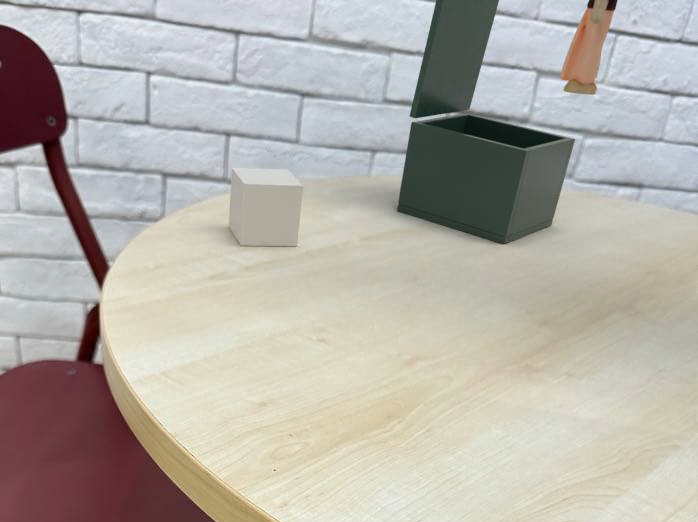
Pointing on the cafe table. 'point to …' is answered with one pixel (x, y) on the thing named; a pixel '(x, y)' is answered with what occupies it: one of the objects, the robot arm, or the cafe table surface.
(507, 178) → the bin
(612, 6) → the grandmother figurine
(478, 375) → the cafe table surface
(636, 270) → the cafe table surface
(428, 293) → the cafe table surface
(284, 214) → the light grey cube
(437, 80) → the bin lid
